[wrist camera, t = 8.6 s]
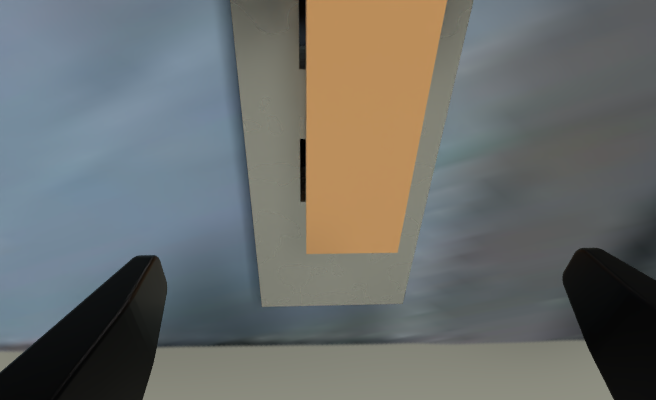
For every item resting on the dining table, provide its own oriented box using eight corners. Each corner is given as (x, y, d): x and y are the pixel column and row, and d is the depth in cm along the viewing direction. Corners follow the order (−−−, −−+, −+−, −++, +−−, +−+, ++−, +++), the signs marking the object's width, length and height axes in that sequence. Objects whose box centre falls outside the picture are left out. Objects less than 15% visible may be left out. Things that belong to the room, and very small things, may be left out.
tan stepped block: (397, -41, 15) (448, -10, 10) (372, 163, 20) (397, 252, 15) (304, -43, 15) (306, -14, 9) (305, 163, 20) (306, 254, 15)
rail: (513, -361, 11) (576, -438, 8) (392, 265, 25) (402, 303, 23) (209, -389, 10) (179, -479, 8) (265, 267, 24) (261, 306, 22)
